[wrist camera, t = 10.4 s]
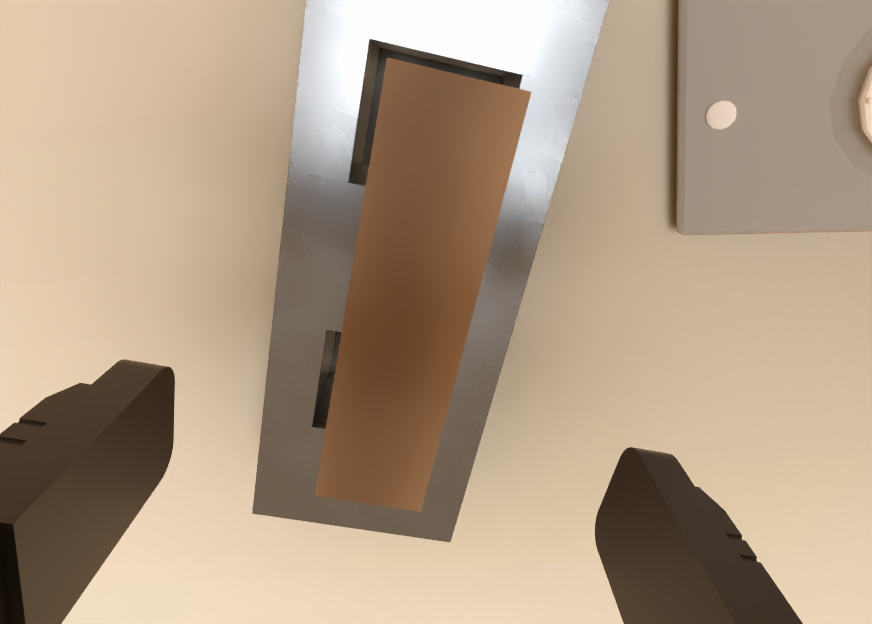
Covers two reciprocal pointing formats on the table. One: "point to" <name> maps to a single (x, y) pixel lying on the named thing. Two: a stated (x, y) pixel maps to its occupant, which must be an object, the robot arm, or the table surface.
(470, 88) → the brown u-shaped block
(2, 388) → the table surface
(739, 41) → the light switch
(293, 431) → the grey slotted holder
